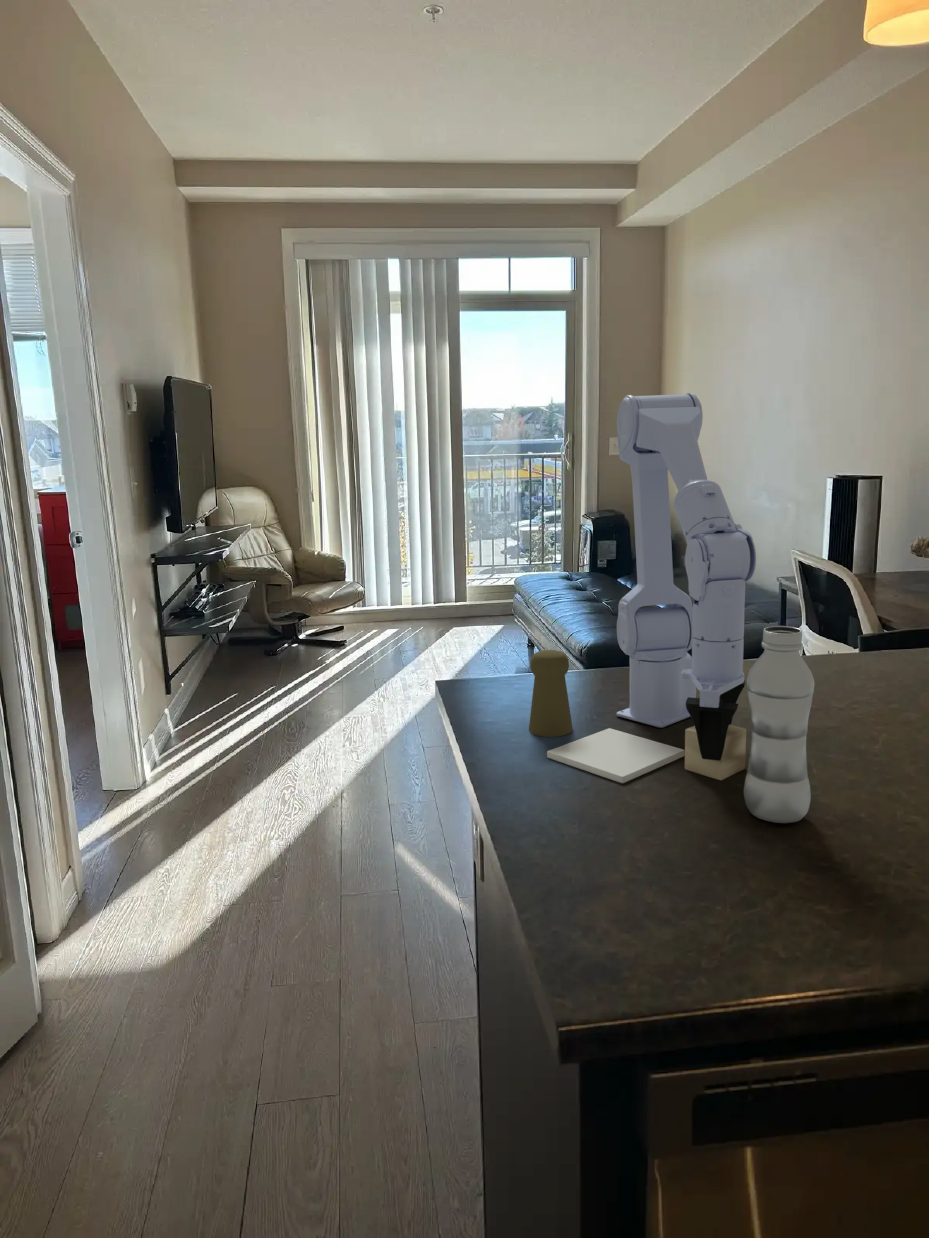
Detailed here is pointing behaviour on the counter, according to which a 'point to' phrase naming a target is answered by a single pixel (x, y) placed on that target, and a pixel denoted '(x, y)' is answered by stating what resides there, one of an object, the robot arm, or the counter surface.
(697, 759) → the cube
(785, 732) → the plastic bottle
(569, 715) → the cork
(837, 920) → the counter surface
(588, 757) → the plate
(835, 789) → the counter surface
